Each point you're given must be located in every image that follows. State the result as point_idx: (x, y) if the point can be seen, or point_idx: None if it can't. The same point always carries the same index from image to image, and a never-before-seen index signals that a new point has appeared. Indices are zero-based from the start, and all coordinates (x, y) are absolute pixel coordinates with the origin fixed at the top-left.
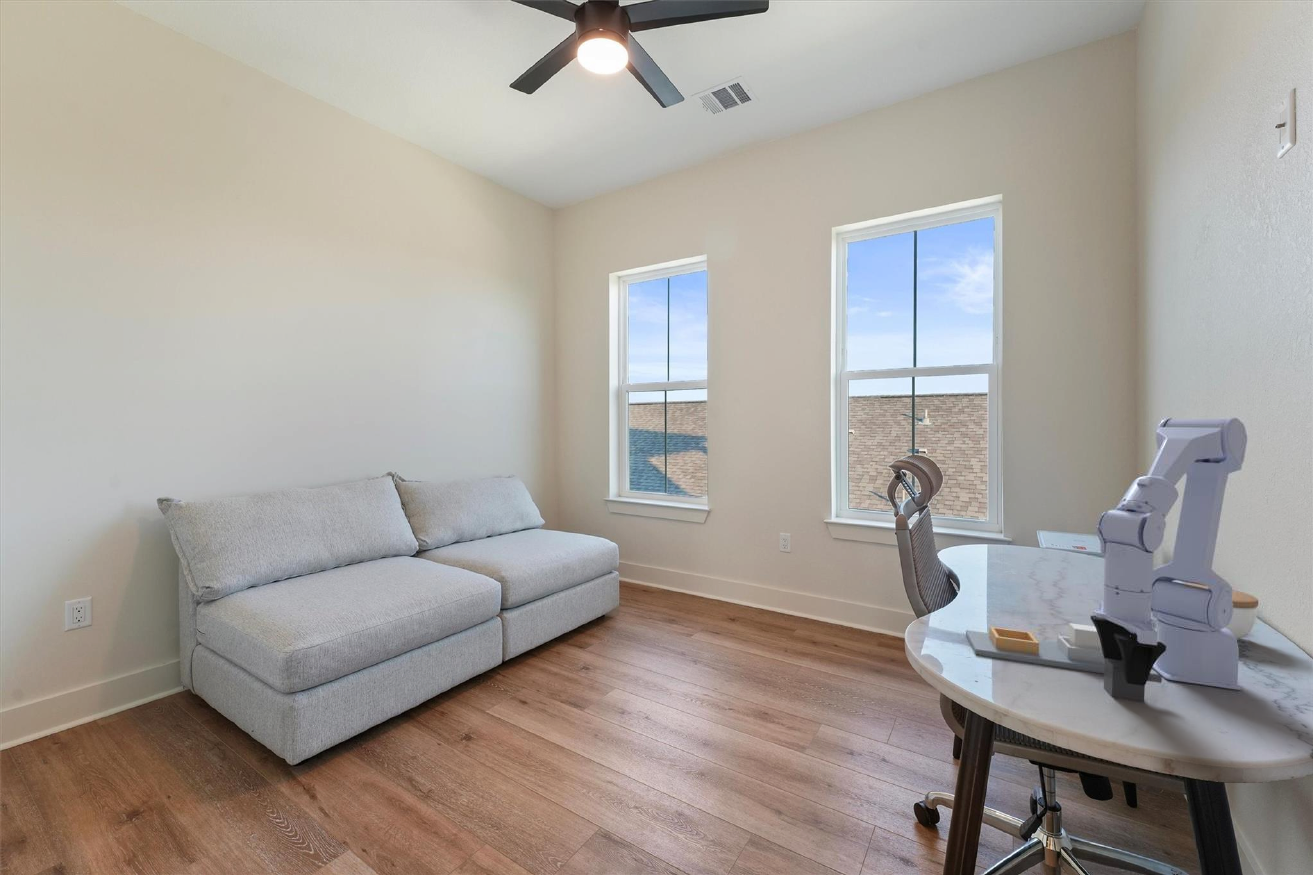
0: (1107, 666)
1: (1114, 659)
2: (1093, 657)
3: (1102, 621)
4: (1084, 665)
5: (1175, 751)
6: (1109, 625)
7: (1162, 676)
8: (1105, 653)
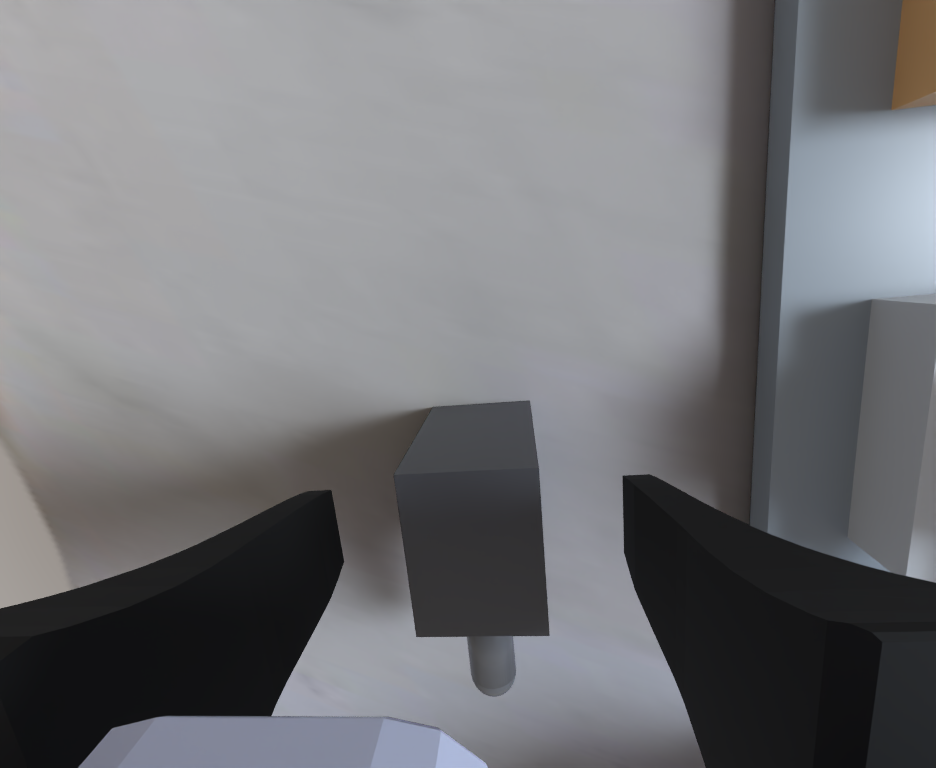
0: (488, 452)
1: (541, 522)
2: (878, 450)
3: (825, 726)
4: (773, 374)
5: (39, 479)
6: (778, 751)
7: (485, 691)
8: (645, 499)
